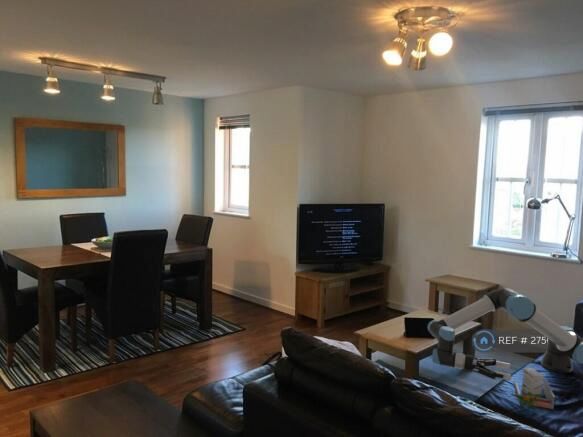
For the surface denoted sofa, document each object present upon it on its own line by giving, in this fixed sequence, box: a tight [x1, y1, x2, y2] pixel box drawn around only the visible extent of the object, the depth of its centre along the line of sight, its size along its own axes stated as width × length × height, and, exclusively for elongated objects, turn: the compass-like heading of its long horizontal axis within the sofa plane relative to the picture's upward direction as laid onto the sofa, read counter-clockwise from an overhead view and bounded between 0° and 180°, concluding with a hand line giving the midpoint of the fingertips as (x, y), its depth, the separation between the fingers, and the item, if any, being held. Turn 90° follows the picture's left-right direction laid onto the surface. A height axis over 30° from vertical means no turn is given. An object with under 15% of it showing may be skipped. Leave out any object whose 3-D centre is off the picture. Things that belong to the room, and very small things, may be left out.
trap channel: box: [513, 378, 556, 410], centre depth 227 cm, size 14×19×6 cm
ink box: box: [520, 367, 545, 398], centre depth 228 cm, size 8×5×12 cm, turn 10°
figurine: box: [509, 390, 538, 411], centre depth 216 cm, size 3×12×8 cm, turn 61°
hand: (510, 372), depth 232 cm, fingers open, 13 cm apart
